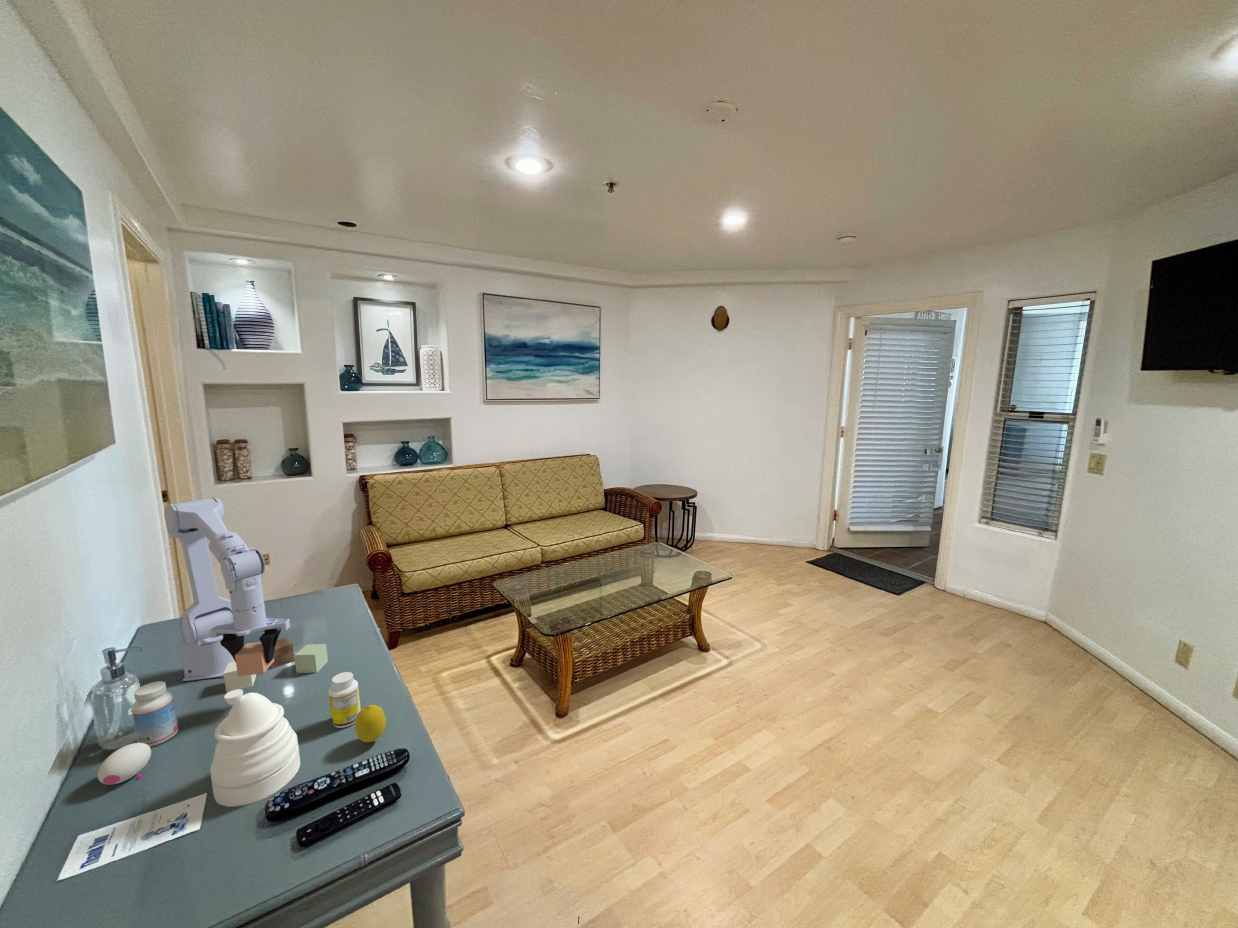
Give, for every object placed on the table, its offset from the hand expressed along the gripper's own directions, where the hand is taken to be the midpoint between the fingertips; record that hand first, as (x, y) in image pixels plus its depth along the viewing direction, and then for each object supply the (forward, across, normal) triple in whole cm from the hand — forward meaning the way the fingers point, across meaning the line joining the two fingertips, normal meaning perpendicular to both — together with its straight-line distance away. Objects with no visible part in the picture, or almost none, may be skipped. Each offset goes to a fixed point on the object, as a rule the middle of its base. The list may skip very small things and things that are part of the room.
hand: (255, 662), depth 109 cm
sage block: (+10, +6, +13) cm, 17 cm away
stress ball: (+10, -14, -18) cm, 25 cm away
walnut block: (+10, -3, +18) cm, 21 cm away
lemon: (+10, +28, -19) cm, 35 cm away
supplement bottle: (+10, +21, -11) cm, 26 cm away
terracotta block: (+2, 0, 0) cm, 2 cm away
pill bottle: (+10, -15, -8) cm, 20 cm away
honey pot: (+10, +10, -24) cm, 28 cm away
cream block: (+10, -8, +9) cm, 16 cm away
